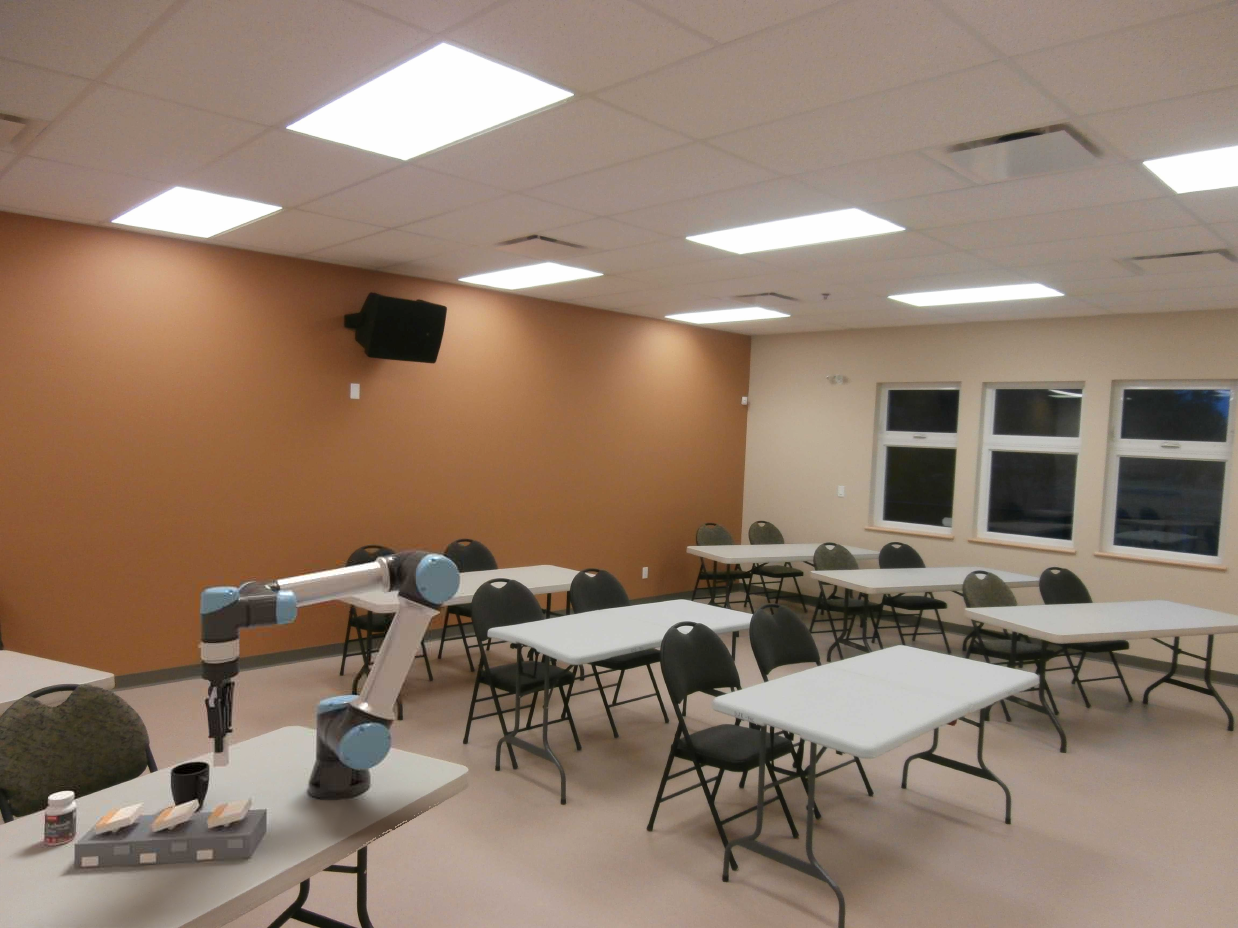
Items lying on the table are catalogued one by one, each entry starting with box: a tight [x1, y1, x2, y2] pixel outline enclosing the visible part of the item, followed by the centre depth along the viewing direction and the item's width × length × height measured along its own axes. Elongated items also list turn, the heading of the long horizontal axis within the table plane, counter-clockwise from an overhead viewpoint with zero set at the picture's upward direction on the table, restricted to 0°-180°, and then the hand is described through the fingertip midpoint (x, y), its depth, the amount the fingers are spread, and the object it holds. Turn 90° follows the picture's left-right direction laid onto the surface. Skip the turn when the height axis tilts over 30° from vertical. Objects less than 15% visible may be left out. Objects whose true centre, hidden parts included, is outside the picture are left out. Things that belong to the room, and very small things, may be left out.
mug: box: [170, 761, 210, 811], centre depth 188 cm, size 8×12×10 cm
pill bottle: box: [43, 790, 77, 847], centre depth 172 cm, size 6×6×10 cm
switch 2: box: [151, 799, 199, 832], centre depth 169 cm, size 7×7×2 cm
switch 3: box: [207, 797, 253, 828], centre depth 171 cm, size 7×7×2 cm
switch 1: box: [94, 802, 146, 834], centre depth 167 cm, size 7×7×2 cm
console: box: [73, 808, 268, 870], centre depth 169 cm, size 34×12×6 cm, turn 99°
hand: (220, 764), depth 172 cm, fingers closed
